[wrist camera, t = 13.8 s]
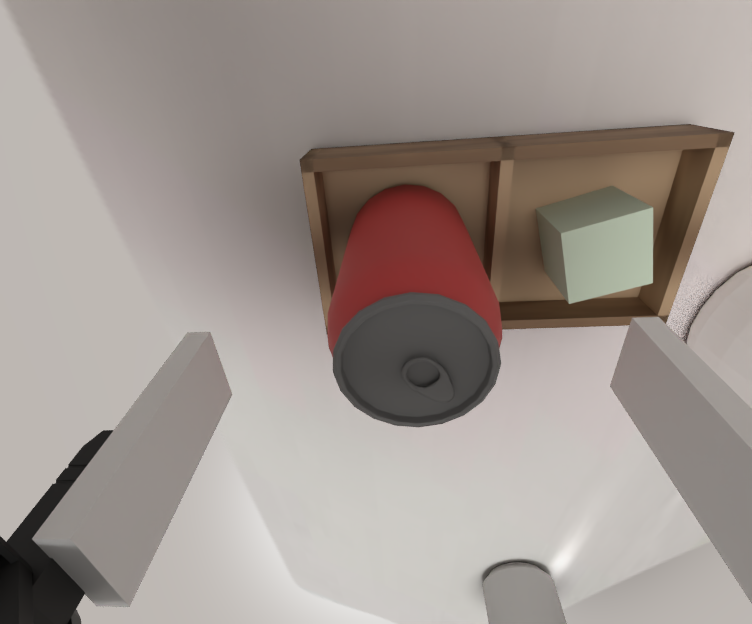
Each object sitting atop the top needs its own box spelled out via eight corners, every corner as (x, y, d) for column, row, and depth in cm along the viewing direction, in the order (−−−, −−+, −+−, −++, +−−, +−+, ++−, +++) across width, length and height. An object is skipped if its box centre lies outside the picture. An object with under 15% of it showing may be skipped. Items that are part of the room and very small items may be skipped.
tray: (311, 148, 22) (299, 160, 19) (689, 124, 21) (734, 132, 18) (334, 308, 27) (326, 334, 25) (637, 297, 26) (665, 324, 23)
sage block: (535, 208, 22) (561, 233, 19) (612, 185, 22) (653, 207, 18) (544, 270, 24) (568, 304, 21) (615, 252, 23) (652, 283, 20)
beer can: (399, 307, 26) (402, 462, 16) (328, 233, 24) (275, 359, 13) (486, 244, 24) (556, 380, 13) (416, 155, 21) (434, 236, 11)
